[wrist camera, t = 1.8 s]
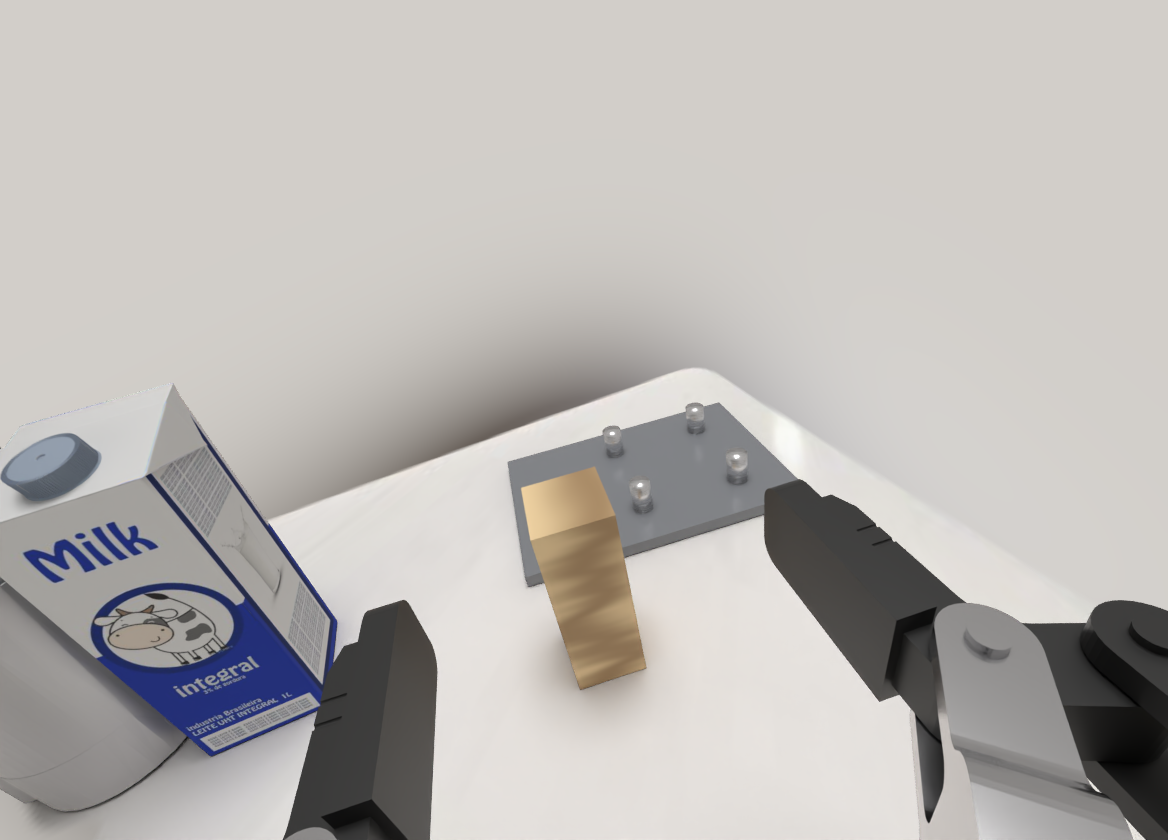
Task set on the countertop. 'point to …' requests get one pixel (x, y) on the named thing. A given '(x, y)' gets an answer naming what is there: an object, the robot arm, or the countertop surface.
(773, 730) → the countertop surface
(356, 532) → the countertop surface
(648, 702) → the countertop surface
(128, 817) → the countertop surface
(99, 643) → the milk carton
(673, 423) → the plate
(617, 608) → the oak block
